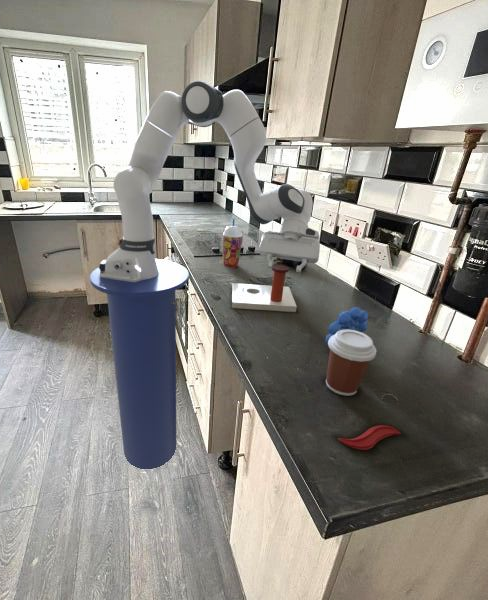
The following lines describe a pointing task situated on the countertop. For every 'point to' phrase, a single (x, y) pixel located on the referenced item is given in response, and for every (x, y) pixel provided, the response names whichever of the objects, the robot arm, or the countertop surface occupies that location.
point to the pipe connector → (288, 262)
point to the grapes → (349, 322)
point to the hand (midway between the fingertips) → (283, 269)
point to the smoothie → (232, 245)
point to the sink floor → (261, 298)
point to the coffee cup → (348, 360)
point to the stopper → (278, 282)
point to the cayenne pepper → (370, 437)
